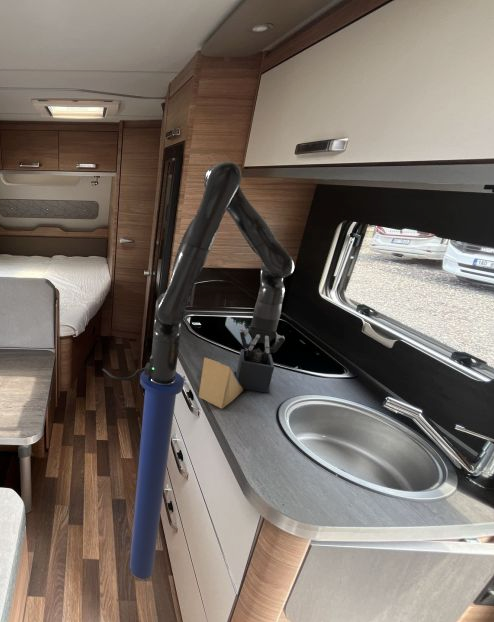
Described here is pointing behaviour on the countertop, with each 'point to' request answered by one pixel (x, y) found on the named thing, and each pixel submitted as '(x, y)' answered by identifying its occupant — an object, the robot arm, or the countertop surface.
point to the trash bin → (254, 373)
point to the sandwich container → (218, 384)
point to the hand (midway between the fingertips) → (256, 360)
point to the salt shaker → (256, 356)
